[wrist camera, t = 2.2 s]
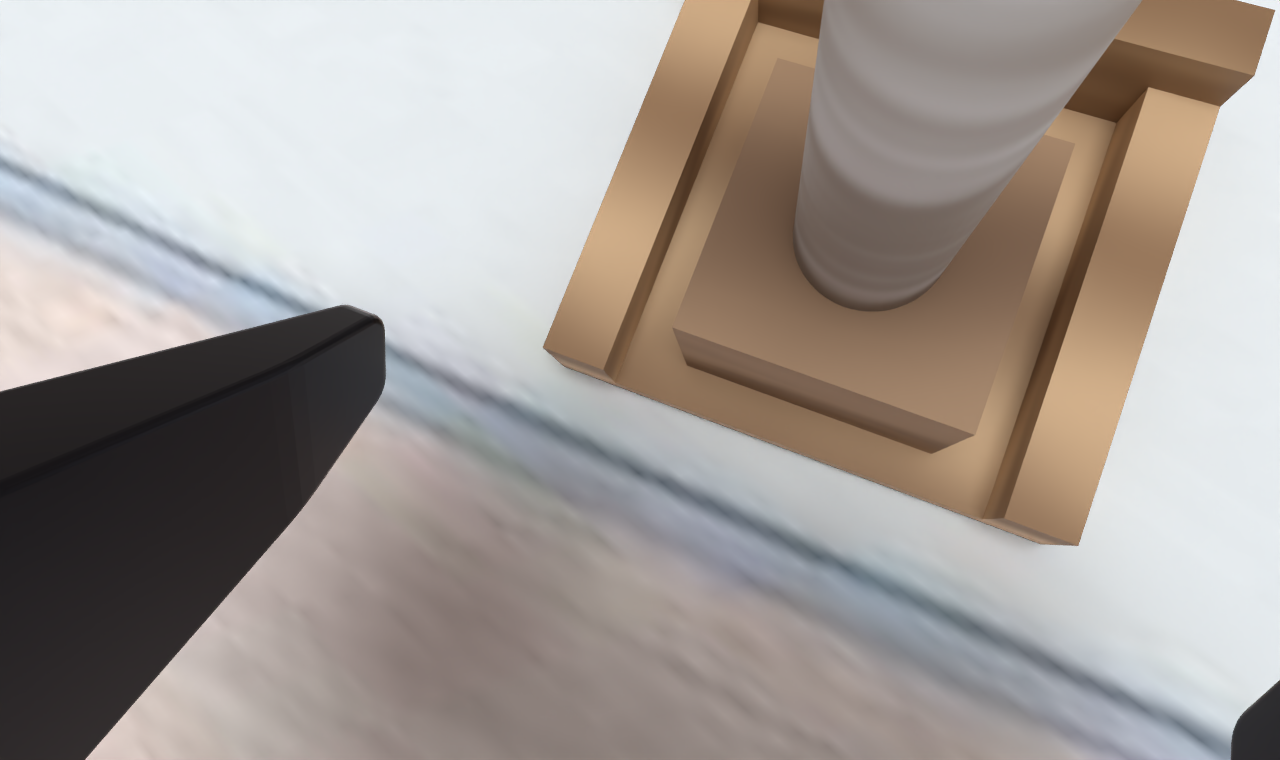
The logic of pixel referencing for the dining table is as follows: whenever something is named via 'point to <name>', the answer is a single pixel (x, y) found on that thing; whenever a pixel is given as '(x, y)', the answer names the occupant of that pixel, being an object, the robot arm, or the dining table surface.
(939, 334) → the peg on square base
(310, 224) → the dining table surface
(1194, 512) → the dining table surface
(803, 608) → the dining table surface
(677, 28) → the wooden u-channel cradle
